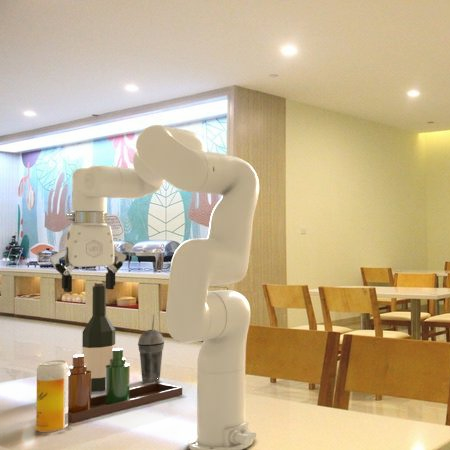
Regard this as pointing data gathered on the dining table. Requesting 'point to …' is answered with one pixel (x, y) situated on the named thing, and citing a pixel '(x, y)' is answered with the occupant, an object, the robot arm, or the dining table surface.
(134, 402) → the tray
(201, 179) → the robot arm
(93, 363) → the wine bottle
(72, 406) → the amber bottle
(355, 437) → the dining table surface
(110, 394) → the green bottle
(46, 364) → the beer can
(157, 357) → the beverage cup
